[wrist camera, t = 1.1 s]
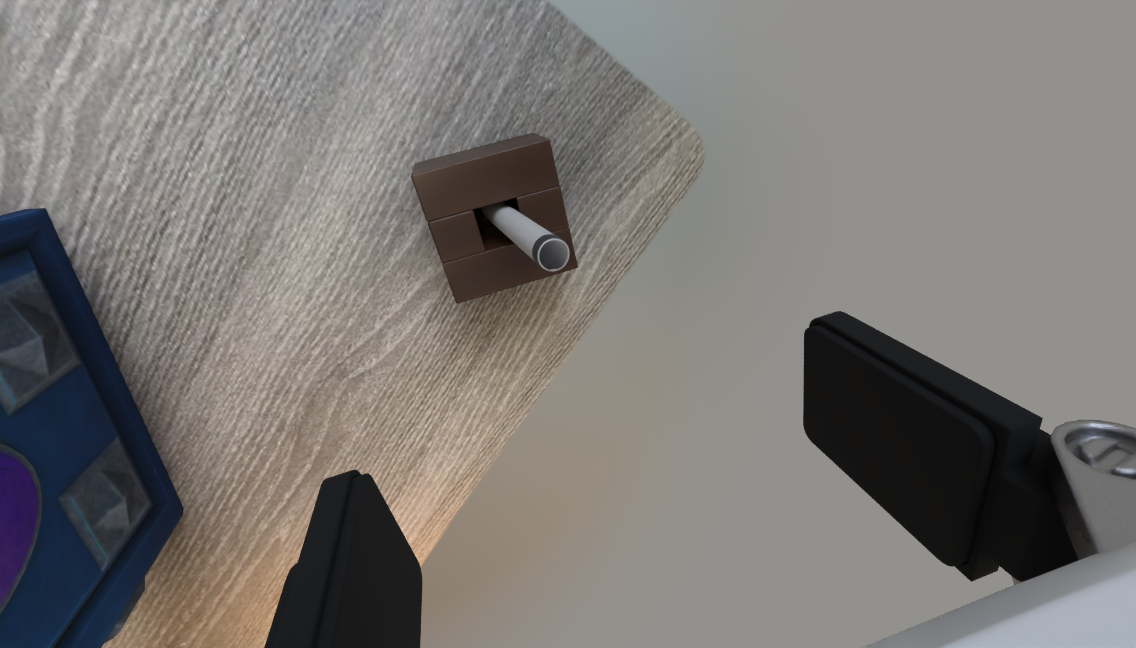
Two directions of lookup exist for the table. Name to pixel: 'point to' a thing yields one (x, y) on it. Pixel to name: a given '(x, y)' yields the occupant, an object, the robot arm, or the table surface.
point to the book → (68, 457)
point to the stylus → (529, 236)
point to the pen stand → (481, 181)
